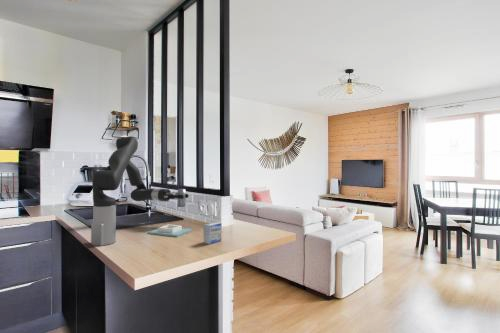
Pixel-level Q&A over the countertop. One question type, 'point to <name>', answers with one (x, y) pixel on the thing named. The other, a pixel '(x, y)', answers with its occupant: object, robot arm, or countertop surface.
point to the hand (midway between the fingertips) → (185, 196)
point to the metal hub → (181, 201)
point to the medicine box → (212, 233)
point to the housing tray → (170, 231)
